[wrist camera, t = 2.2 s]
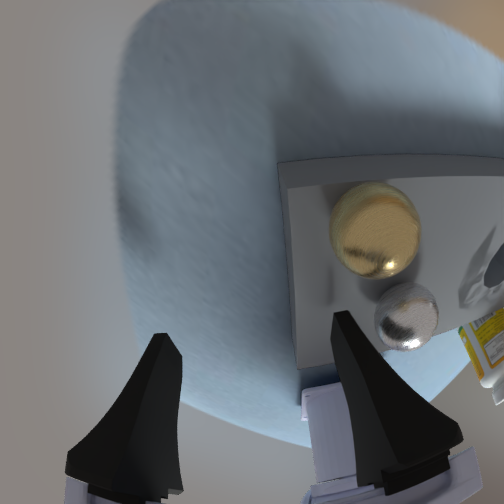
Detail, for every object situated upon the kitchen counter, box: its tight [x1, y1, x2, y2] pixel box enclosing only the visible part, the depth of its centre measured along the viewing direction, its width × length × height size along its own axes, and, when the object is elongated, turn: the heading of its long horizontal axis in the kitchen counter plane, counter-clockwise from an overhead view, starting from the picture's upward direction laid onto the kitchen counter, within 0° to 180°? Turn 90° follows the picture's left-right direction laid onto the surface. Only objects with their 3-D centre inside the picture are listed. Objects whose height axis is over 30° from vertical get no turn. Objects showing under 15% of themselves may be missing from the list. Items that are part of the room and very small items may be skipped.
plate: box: [277, 154, 504, 370], centre depth 13 cm, size 12×20×2 cm, turn 98°
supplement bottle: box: [457, 308, 504, 405], centre depth 15 cm, size 5×5×10 cm
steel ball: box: [374, 282, 439, 352], centre depth 11 cm, size 3×3×3 cm
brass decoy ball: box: [329, 182, 421, 279], centre depth 8 cm, size 3×3×3 cm
